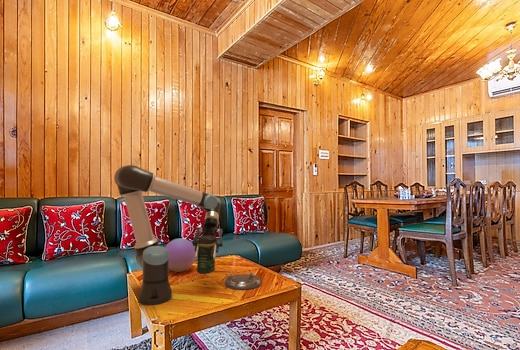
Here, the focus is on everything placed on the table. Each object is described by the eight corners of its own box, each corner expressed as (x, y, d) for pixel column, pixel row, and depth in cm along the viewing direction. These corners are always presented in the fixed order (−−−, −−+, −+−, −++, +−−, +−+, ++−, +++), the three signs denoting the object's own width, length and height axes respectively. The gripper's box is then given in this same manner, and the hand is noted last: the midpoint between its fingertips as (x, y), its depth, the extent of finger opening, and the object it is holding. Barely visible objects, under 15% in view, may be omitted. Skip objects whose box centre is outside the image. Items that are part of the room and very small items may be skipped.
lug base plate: (217, 285, 153) (217, 279, 153) (238, 274, 170) (238, 269, 170) (248, 292, 143) (248, 286, 143) (267, 280, 160) (267, 275, 160)
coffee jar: (209, 275, 141) (209, 237, 141) (194, 273, 143) (195, 236, 144) (217, 269, 150) (218, 234, 151) (203, 268, 152) (204, 233, 153)
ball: (171, 265, 188) (171, 234, 188) (200, 266, 185) (200, 236, 185) (156, 275, 168) (156, 241, 168) (188, 277, 165) (188, 242, 165)
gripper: (230, 225, 163) (226, 261, 146) (193, 224, 163) (185, 260, 146) (229, 217, 157) (225, 254, 141) (191, 216, 157) (183, 253, 141)
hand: (205, 257), depth 144 cm, fingers closed on coffee jar, 8 cm apart
